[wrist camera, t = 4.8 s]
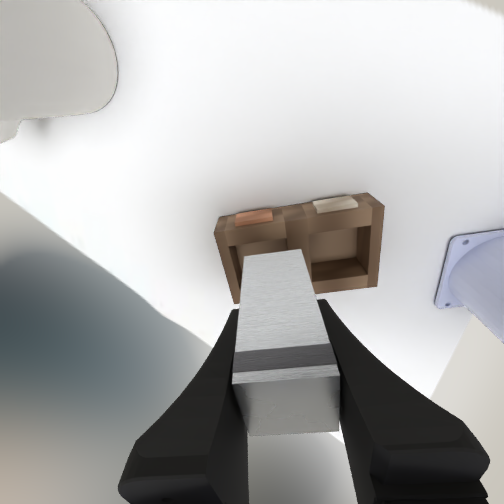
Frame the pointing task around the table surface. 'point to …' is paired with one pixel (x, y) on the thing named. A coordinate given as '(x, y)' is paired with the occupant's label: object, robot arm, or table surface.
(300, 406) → the plug
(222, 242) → the port block
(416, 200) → the table surface
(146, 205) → the table surface
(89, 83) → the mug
